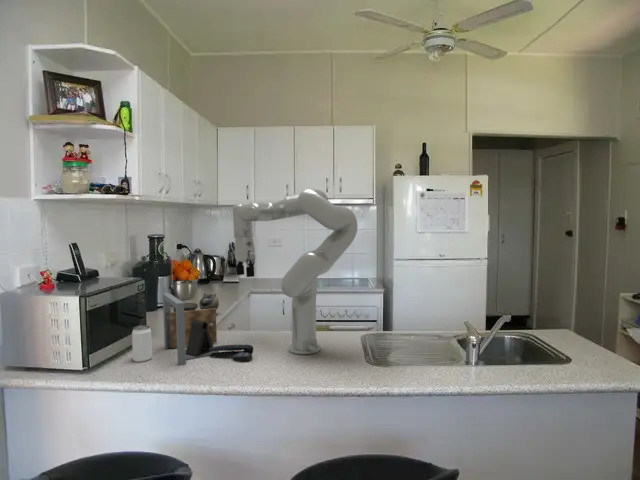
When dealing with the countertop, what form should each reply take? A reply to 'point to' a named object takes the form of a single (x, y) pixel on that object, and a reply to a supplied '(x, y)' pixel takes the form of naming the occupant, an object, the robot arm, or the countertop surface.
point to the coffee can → (189, 307)
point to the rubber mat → (200, 355)
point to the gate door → (190, 316)
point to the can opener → (233, 352)
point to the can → (141, 343)
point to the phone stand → (199, 339)
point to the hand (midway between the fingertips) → (245, 275)
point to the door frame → (180, 324)
